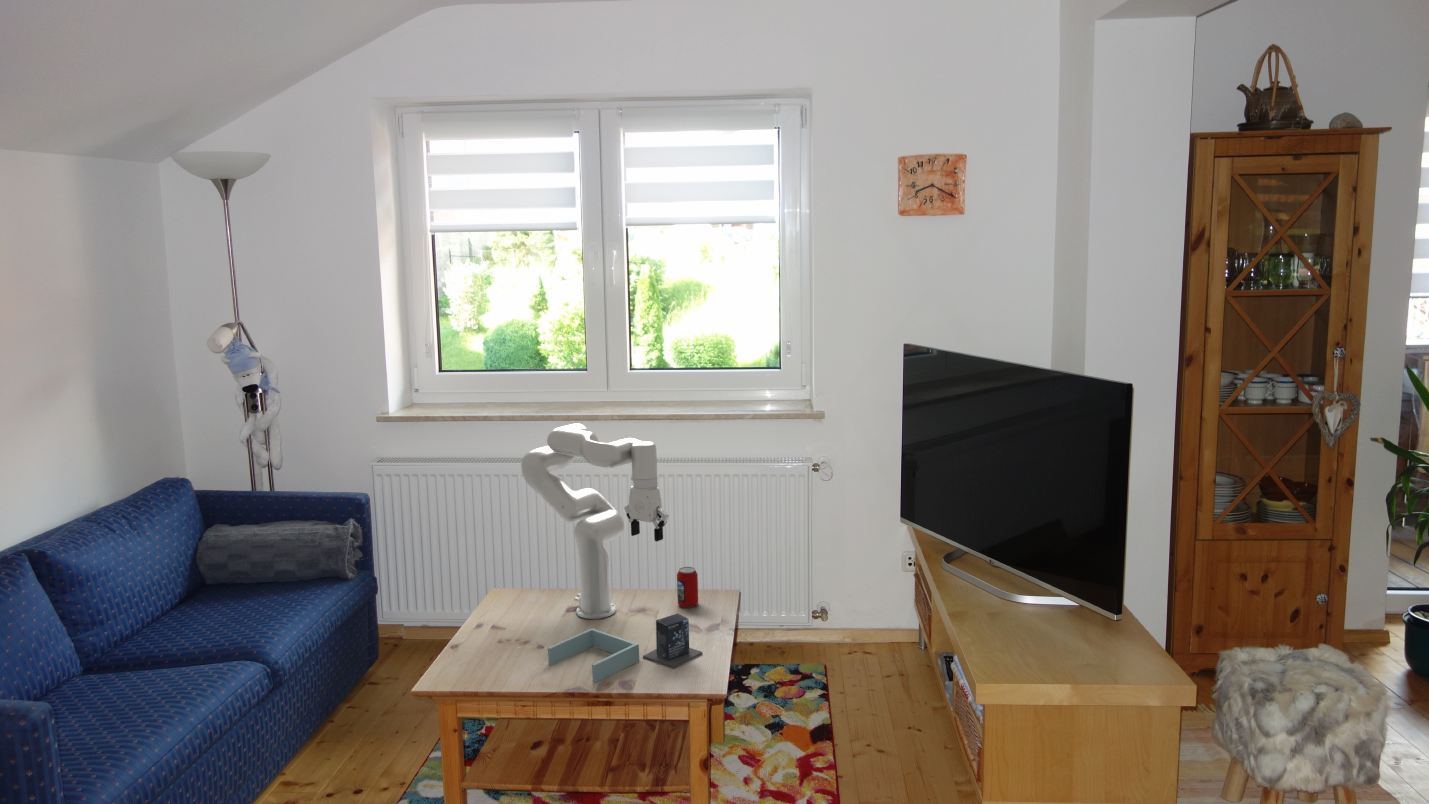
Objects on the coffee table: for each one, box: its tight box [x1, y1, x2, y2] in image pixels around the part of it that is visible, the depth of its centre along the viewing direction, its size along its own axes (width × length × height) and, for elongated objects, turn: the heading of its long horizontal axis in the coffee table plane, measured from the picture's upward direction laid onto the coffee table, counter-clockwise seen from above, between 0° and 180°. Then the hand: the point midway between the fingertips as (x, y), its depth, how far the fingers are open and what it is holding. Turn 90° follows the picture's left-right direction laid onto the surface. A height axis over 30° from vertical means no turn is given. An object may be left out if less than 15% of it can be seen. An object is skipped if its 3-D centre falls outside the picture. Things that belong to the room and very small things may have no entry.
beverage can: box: [676, 566, 699, 608], centre depth 304 cm, size 7×7×12 cm
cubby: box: [547, 627, 640, 683], centre depth 263 cm, size 19×17×5 cm
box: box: [655, 613, 690, 661], centre depth 265 cm, size 8×6×11 cm
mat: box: [642, 647, 703, 669], centre depth 266 cm, size 12×12×1 cm
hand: (647, 537), depth 284 cm, fingers open, 9 cm apart
